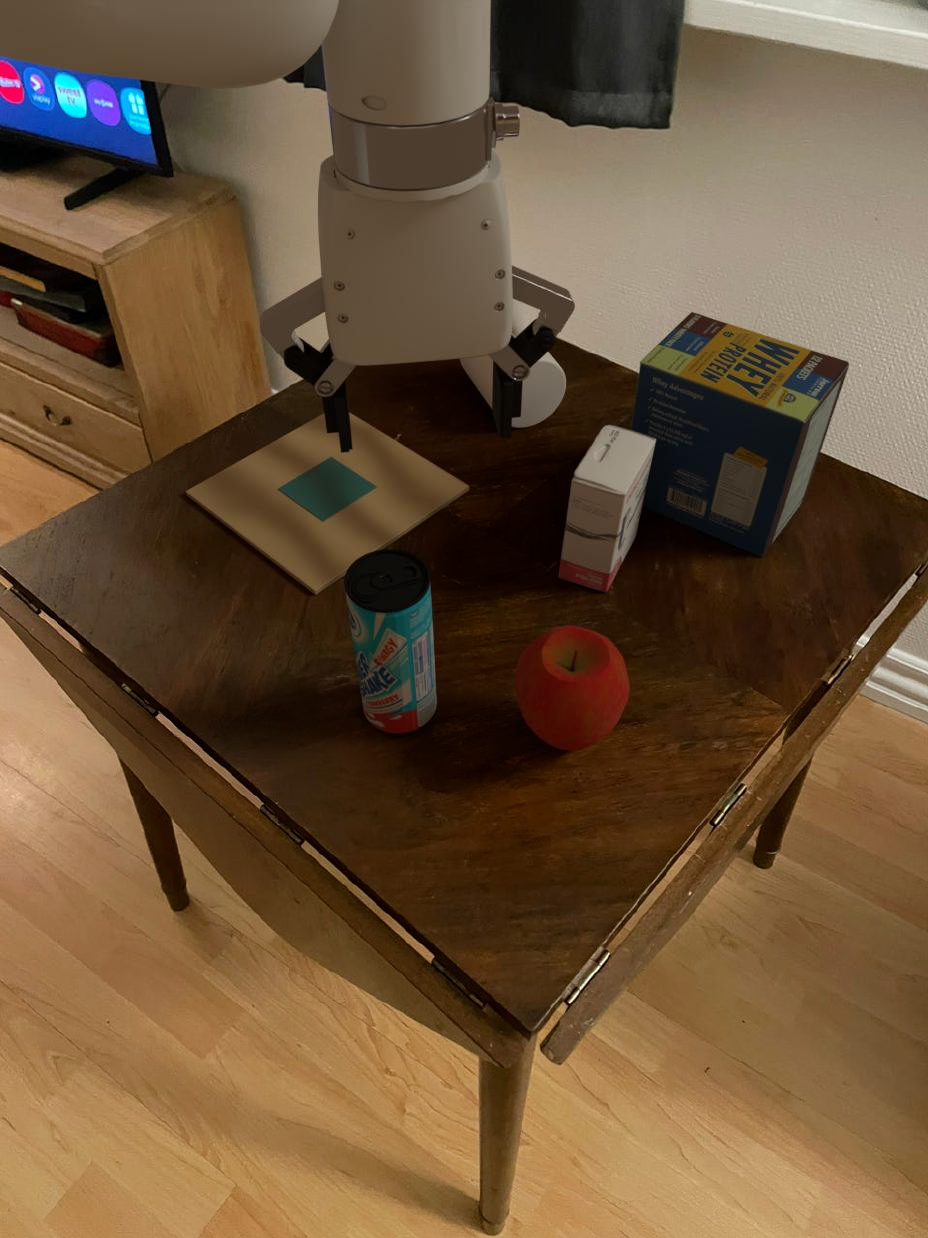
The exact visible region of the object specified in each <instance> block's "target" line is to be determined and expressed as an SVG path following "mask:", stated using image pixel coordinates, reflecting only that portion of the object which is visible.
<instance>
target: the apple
mask: <svg viewBox="0 0 928 1238" xmlns="http://www.w3.org/2000/svg"><path fill="white" fill-rule="evenodd" d="M514 673H515V674H514V682H513V686H514V691H515V695H516V700H517V704H518V707H519V709H520V712H521V715H522V717H523V719H524V722H525V724H526V726H527V727H528V728H529V729H530V730H532V732H533V733H534V734H535V736H537V737H538V738H539V739H541V740H542V741H543V742H544V743H546V744H548V745H549V746H551V747H554V748H555V749H558V750H563V751H572V752H575V751H579V750H584V749H586V748H588V747H591V746H593V745H595V744H597V743H598V742H599V741H600V740H602V739H603V738H605V736H607V735H608V734H609V733H611V731H612V730H613V729H614V727H616V725H617V724H618V723H619V721H620V718H621V717H622V714H623V712H624V709H625V707H626V705H627V702H628V700H629V697H630V689H631V685H630V680H629V675H628V670H627V667H626V662H625V659H624V656H623V655H622V653H621V652H620V651H619V649H618V648H617V646H616V645H615V644H614V643H613V642H612V641H611V640H610V639H609V637H607V636H605V635H603V634H601V633H599V632H598V631H596V630H592V629H588V628H585V627H581V626H577V625H574V624H573V625H572V624H567V625H561V626H554V627H552V628H550V629H548V630H546V631H545V632H544V633H542V634H540V635H538V636H537V637H536V638H534V639H533V640H532V641H531V642H530V643H529V644H527V646H526V647H525V649H524V650H523V651H522V652H521V654H520V656H519V657H518V659H517V663H516V666H515V672H514Z"/></svg>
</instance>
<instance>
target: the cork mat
mask: <svg viewBox="0 0 928 1238" xmlns="http://www.w3.org/2000/svg"><path fill="white" fill-rule="evenodd" d="M349 415H350V424H351V436H352V448H353V449H352V450H349V452H344V453H341V449H340V441H339V433H327V429H326V422H325V415H324V413H321V414H320V415H318V416H316V417H315V418H313V419H311V420H309V421H307V422H306V423H304V424H302V425H300V426H298V427H297V428H295V429H293V430H292V431H289V432H288V433H286V434H285V435H283V436H281V437H279V438H278V439H276V440H273V441H272V442H270V443H269V444H267V445H265V446H263V447H261V448H260V449H258V450H256V451H254V452H253V453H251V454H249V455H247V456H245V457H244V458H242V459H240V460H238V461H236V462H235V463H233V464H231V465H230V466H228V467H226V468H224V469H222V470H221V471H219V472H217V473H215V474H214V475H211V476H210V477H209V478H207V479H205V480H203V481H201V482H200V483H198V484H196V485H194V486H192V487H191V488H188V489H187V490H185V493H186V496H187V497H188V498H190V499H191V500H192V501H193V502H195V504H197V505H198V506H200V507H201V508H202V509H203V510H205V511H206V512H207V513H209V514H210V515H211V516H212V517H214V518H215V519H216V520H218V521H219V522H220V523H221V524H223V525H224V526H225V527H227V528H228V529H229V530H230V531H232V532H233V533H235V534H236V535H237V536H239V538H241V539H242V540H244V542H246V543H247V544H249V545H250V546H252V547H253V548H254V549H255V550H256V551H258V552H259V553H261V554H262V555H263V556H264V557H266V558H267V559H269V561H271V563H273V564H275V565H276V566H277V567H279V569H281V570H282V571H284V572H285V573H286V574H288V575H289V576H290V577H292V578H293V579H294V580H295V581H296V582H298V583H299V584H300V585H302V586H303V587H305V588H306V589H307V590H308V591H310V592H311V593H312V594H314V595H318V594H320V593H321V592H322V591H324V590H325V589H326V588H328V587H330V586H331V585H333V584H334V583H335V582H337V581H339V580H340V579H341V578H343V577H345V574H346V572H347V570H348V568H349V567H350V565H351V564H352V563H353V562H354V561H355V560H357V559H358V558H360V557H361V556H363V555H365V554H367V553H370V552H373V551H376V550H382V549H386V548H387V547H388V546H390V545H391V544H393V543H394V542H396V541H397V540H399V539H400V538H401V537H403V536H404V535H406V534H407V533H409V532H410V531H412V530H413V529H415V528H416V527H418V526H420V525H421V524H422V523H424V522H425V521H427V520H428V519H429V518H431V517H432V516H434V515H435V514H436V513H439V511H441V510H443V509H444V508H445V507H447V506H448V505H450V504H452V503H453V502H454V501H456V500H458V499H459V498H460V497H462V496H463V495H464V494H466V493H468V491H470V485H469V484H467V483H465V482H464V481H462V480H461V479H459V478H458V477H456V476H454V475H452V474H451V473H449V472H447V471H446V470H444V469H442V468H441V467H439V466H437V465H436V464H434V463H433V462H432V461H430V460H428V459H426V458H425V457H423V456H421V455H420V454H418V453H417V452H415V451H414V450H412V449H410V448H409V447H407V446H405V445H404V444H402V443H400V442H398V441H397V440H395V439H393V438H392V437H390V436H389V435H388V434H385V433H384V432H382V431H380V430H379V429H377V428H376V427H374V426H372V425H371V424H370V423H368V422H366V421H365V420H362V419H361V418H359V417H358V416H356V415H354V414H353V413H351V412H350V411H349Z"/></svg>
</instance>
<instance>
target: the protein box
mask: <svg viewBox="0 0 928 1238" xmlns="http://www.w3.org/2000/svg"><path fill="white" fill-rule="evenodd" d="M849 368H850V362H849V361H848V360H844V359H841V358H839V357H835V356H832V355H829V354H825V353H822V352H818V351H815V350H812V349H809V348H806V347H803V346H799V345H797V344H794V343H791V342H787V341H785V340H781V339H779V338H778V339H777V338H774V337H771V336H769V335H765V334H762V333H760V332H757V331H754V330H750V329H746V328H743V327H740V326H738V325H734V324H731V323H728V322H724V321H720V320H717V319H714V318H712V317H709V316H706V315H703V314H700V313H697V312H694V311H691V312H690V313H689V314H687V315H686V317H685V318H684V319H683V320H682V321H680V322H679V323H678V324H677V325H676V327H674V328H673V329H672V330H671V331H670V332H669V333H668V334H667V335H666V336H665V337H664V338H663V339H662V340H661V341H660V342H659V343H658V344H657V345H655V347H654V348H653V349H651V351H650V352H648V353H647V354H646V355H645V356H644V357H643V358H642V359H641V360H640V361H639V370H638V377H637V383H636V391H635V398H634V403H633V404H634V405H633V412H632V418H631V425H630V430H631V431H635V432H638V433H641V434H644V435H647V436H650V437H653V438H655V439H656V443H655V447H654V452H653V456H652V461H651V466H650V471H649V475H648V480H647V485H646V490H645V494H644V499H643V504H642V508H645V509H647V510H650V511H652V512H654V513H657V514H659V515H661V516H664V517H666V518H669V519H671V520H673V521H676V522H678V523H680V524H684V525H685V526H687V527H689V528H692V529H694V530H696V531H699V532H701V533H703V534H706V535H708V536H711V537H713V538H716V539H718V540H720V541H723V542H724V543H727V544H729V545H732V546H734V547H737V548H739V549H741V550H744V551H746V552H748V553H750V554H753V555H755V556H757V557H761V558H762V557H764V556H765V555H766V554H767V552H768V551H769V550H770V548H771V546H772V545H773V544H774V542H775V541H776V540H777V539H778V537H779V536H780V535H781V533H782V532H783V530H784V529H785V528H786V526H787V525H788V523H789V522H790V520H791V519H792V518H793V516H795V513H797V511H798V509H799V508H800V507H801V505H802V504H803V502H804V501H805V500H806V497H807V495H808V492H809V489H810V485H811V482H812V479H813V476H814V473H815V469H816V467H817V464H818V460H819V458H820V455H821V451H822V449H823V445H824V443H825V439H826V436H827V433H828V430H829V428H830V424H831V420H832V419H833V415H834V412H835V409H836V406H837V403H838V401H839V398H840V394H841V391H842V388H843V386H844V384H845V383H844V382H845V379H846V376H847V375H848V371H849Z"/></svg>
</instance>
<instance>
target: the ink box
mask: <svg viewBox="0 0 928 1238" xmlns="http://www.w3.org/2000/svg"><path fill="white" fill-rule="evenodd" d="M655 443H656V439H655V438H653V437H650V436H647V435H644V434H641V433H638V432H635V431H631V429H628V428H624V427H620V426H616V425H613V424H607V425H604V426H603V427H601V429H600V431H599V433H598V434H597V435H596V437H595V438H594V440H593V442H592V443H591V445H590V446H589V447H588V449H587V451H586V453H585V455H584V456H583V458H582V459H581V460H580V462H579V463H578V465H577V466H576V469H575V470H574V472H573V477H572V479H571V485H570V491H569V498H568V504H567V505H568V506H567V511H566V519H565V527H564V534H563V535H564V536H563V541H562V548H561V555H560V563H559V570H558V578H559V579H561V580H564V581H567V582H570V583H573V584H576V585H580V586H582V587H586V588H589V589H591V590H595V591H599V592H603V593H607V592H608V591H609V589H610V587H611V585H612V583H613V582H614V580H615V578H616V576H617V574H618V572H619V569H620V568H621V566H622V563H623V562H624V560H625V558H626V557H627V554H628V552H629V550H630V549H631V547H632V544H633V543H634V541H635V539H636V536H637V532H638V527H639V523H640V517H641V513H642V508H643V506H642V504H643V499H644V494H645V490H646V485H647V480H648V475H649V471H650V466H651V461H652V456H653V452H654V447H655Z"/></svg>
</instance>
